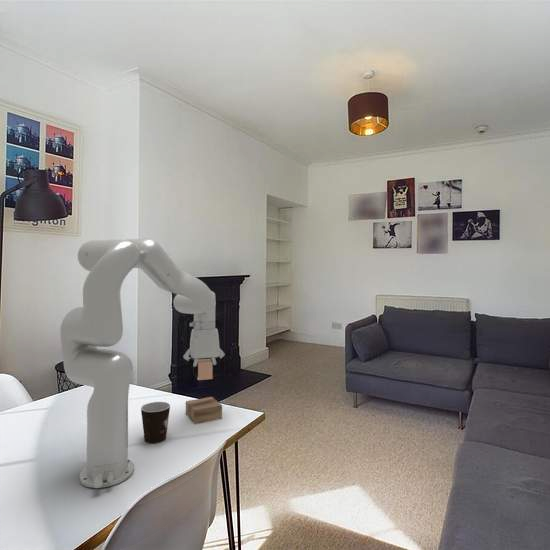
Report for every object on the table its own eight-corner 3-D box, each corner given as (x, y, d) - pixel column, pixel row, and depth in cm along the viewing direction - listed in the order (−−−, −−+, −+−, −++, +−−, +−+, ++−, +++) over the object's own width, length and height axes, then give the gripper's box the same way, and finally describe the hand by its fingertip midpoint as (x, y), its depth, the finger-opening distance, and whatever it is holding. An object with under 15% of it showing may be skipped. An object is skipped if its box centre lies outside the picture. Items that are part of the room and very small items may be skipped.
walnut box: (221, 419, 130) (222, 405, 130) (194, 425, 125) (194, 410, 125) (211, 410, 139) (211, 396, 139) (185, 414, 134) (185, 401, 134)
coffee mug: (156, 430, 120) (157, 399, 120) (175, 436, 115) (176, 405, 115) (126, 444, 110) (126, 411, 110) (145, 452, 105) (145, 417, 105)
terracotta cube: (212, 378, 130) (212, 362, 130) (198, 380, 129) (198, 363, 129) (210, 375, 135) (210, 358, 135) (196, 376, 133) (196, 359, 133)
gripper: (181, 328, 125) (180, 381, 125) (230, 325, 131) (229, 376, 131) (179, 324, 132) (178, 375, 132) (225, 322, 138) (225, 371, 138)
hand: (204, 375), depth 132 cm, fingers closed on terracotta cube, 5 cm apart
